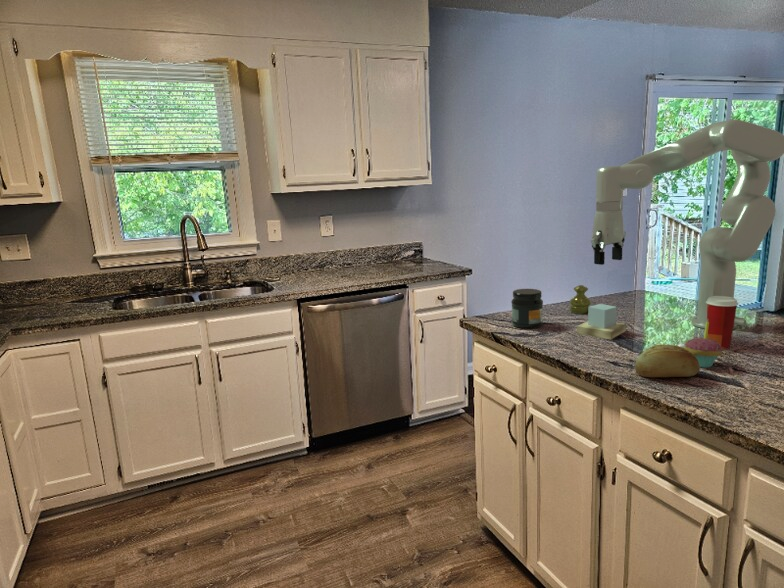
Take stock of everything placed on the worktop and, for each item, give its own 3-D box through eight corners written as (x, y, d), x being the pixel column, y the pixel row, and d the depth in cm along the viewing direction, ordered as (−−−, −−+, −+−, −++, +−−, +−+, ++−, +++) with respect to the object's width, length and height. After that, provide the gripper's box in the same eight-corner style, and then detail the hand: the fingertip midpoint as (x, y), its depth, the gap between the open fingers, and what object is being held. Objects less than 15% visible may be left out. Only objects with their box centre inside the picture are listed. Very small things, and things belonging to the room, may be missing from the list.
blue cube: (616, 325, 163) (616, 306, 162) (604, 328, 160) (604, 310, 159) (599, 321, 168) (600, 303, 167) (588, 324, 165) (588, 306, 164)
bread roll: (708, 383, 123) (710, 351, 121) (642, 383, 124) (644, 352, 123) (689, 368, 132) (692, 339, 130) (629, 369, 134) (630, 340, 132)
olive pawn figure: (566, 310, 194) (566, 284, 192) (585, 308, 195) (585, 282, 192) (575, 315, 187) (575, 288, 185) (594, 313, 187) (595, 286, 185)
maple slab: (625, 332, 165) (625, 323, 164) (610, 341, 158) (611, 331, 157) (592, 327, 173) (592, 318, 172) (576, 335, 165) (577, 326, 165)
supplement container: (549, 326, 174) (549, 292, 172) (522, 331, 171) (522, 296, 168) (531, 319, 184) (531, 286, 181) (505, 323, 181) (505, 290, 178)
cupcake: (689, 356, 140) (692, 314, 137) (725, 363, 134) (729, 319, 131) (678, 365, 134) (681, 321, 131) (716, 373, 128) (720, 327, 125)
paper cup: (729, 342, 149) (734, 295, 146) (737, 350, 142) (742, 302, 139) (699, 341, 152) (702, 295, 149) (705, 349, 145) (709, 301, 142)
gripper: (613, 205, 166) (612, 257, 169) (581, 209, 156) (581, 265, 160) (636, 204, 160) (634, 258, 163) (604, 209, 150) (603, 267, 154)
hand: (608, 261), depth 162 cm, fingers open, 9 cm apart
